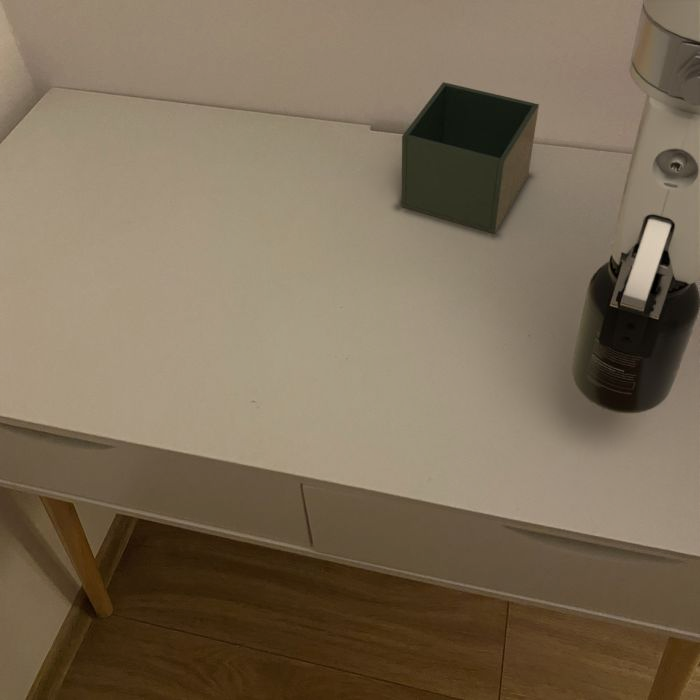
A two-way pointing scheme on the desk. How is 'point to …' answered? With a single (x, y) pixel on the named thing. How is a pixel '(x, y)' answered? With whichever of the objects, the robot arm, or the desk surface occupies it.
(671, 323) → the supplement bottle
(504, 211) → the open box
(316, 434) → the desk surface
